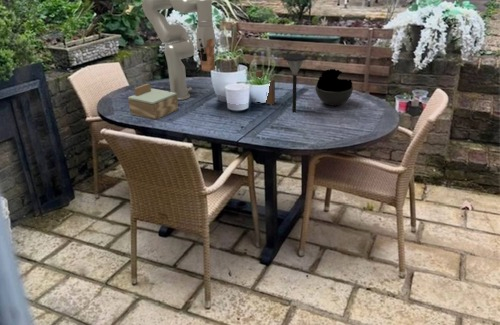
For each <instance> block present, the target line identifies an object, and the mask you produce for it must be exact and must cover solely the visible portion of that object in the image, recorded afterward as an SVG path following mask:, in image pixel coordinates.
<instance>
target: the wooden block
mask: <svg viewBox="0 0 500 325" xmlns="http://www.w3.org/2000/svg"><path fill="white" fill-rule="evenodd" d="M262 76H263V70H261V69H257V70H256V71H255V78H256V77H259V78H261V77H262ZM269 83H270V86H269V93H268V96H267V95H266V96H267V100H266V103H267V104H273V105H275V104H274V103H276V101H275V100H276V94H275V93H276V79H275V78H273V79H272V80H270V81H269ZM267 104H266V105H267Z"/></svg>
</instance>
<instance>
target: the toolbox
mask: <svg viewBox="0 0 500 325" xmlns="http://www.w3.org/2000/svg"><path fill="white" fill-rule="evenodd" d="M128 107H129V113H130V115H133V116H137V117H142V118H146V119H150V120H154V121H155V120H158V119H160V118H162V117H165V116H168V115H169V114H172V113H174V112H175V111H178V110H179V104H178V100H177V95H175V96H173V97H170V98H168V99H165V100H163V101H160V102H158V103H155V104H149V103H144V102H140V101H135V100H130V99H128Z"/></svg>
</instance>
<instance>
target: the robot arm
mask: <svg viewBox="0 0 500 325" xmlns="http://www.w3.org/2000/svg"><path fill="white" fill-rule="evenodd" d="M212 4H213V3H212V0H142V2H141V7H142V10H143V13H144V15H145V17H146V18H147V19H148V21H149V23H150V24H151V26H152V27H153V29H154V31H155V33H156V35H157V37H158V38H159V40H160V41H161V42H162V44H166V46H165V47H164V55H165V60H166V63H167V71H168V79H169V88H170V90H169V91H170V92H174V93H177V101H184V100H187V99H189V98H190V97H191V94H190V93H189V92H191V91H192V90H193V88H192V87H191V86H190V87H187V77H186V75H187V74H186V67H185V65H184V63H183V62H182V60H183V59H188V58H190V57H192V56H193V55H194V54H195V46H194V44H193V42H192V40H191V37H190V36H189V34H188V33H187V30H186V28H185V27H184V26H183V25H182V24H178V23H177V24H170V23H169V22H168V20H167V18H166V17H165V15H163V13H161V12H159V11H161V10H169V9H173V10H175V11H176V12H178V13H181V14H184V15H186V14H191V13H196V16H197V17H196V19H197V27H196V49H197V50H198V51H199V53H200V61H201V60H202V61H207V54H206V47H207V40H209V39H212V38H213V43H214V48H215V46H216V44H217V42H216V38H215V37H216V36H215V29H214V28H215V27H214V23H213V21H214V20H213V9H212V8H213V6H212ZM202 46H203V47H202ZM203 48H204V50H203Z"/></svg>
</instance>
